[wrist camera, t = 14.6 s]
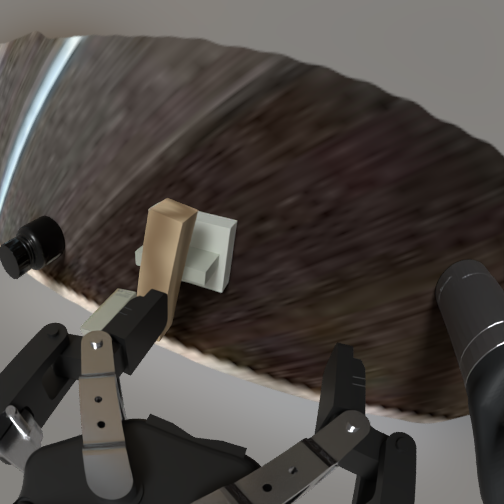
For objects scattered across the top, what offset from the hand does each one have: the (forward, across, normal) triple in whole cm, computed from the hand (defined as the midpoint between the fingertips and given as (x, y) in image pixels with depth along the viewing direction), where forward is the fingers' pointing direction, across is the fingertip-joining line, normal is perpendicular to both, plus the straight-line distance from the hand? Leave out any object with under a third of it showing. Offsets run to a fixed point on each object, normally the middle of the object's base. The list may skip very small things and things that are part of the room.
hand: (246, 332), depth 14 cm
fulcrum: (+28, +14, +12) cm, 34 cm away
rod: (+20, +14, +12) cm, 27 cm away
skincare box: (+28, +26, +28) cm, 48 cm away
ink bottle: (+28, +46, +19) cm, 57 cm away
